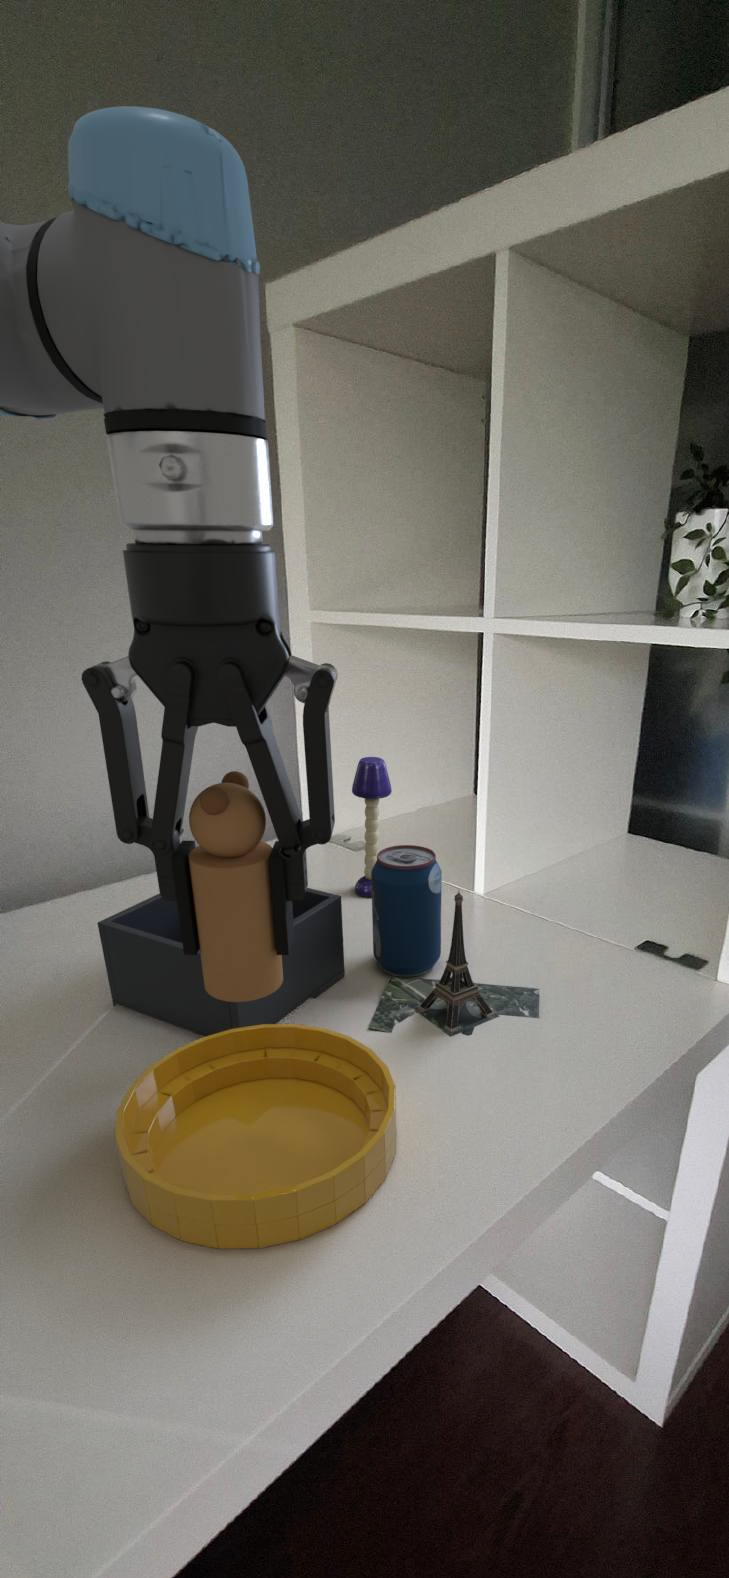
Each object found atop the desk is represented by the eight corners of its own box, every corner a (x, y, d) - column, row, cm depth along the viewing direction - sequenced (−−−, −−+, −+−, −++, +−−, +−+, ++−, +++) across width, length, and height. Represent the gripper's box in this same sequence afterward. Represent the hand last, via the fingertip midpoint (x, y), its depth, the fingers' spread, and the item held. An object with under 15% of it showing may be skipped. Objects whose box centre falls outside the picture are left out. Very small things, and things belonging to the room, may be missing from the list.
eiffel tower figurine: (541, 993, 78) (551, 864, 72) (537, 1053, 69) (548, 911, 63) (390, 980, 80) (388, 854, 74) (367, 1036, 71) (362, 898, 65)
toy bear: (191, 998, 50) (163, 788, 44) (222, 960, 55) (200, 765, 49) (268, 1006, 49) (250, 794, 44) (293, 967, 54) (279, 769, 48)
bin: (113, 1006, 75) (96, 922, 71) (226, 940, 87) (217, 865, 84) (241, 1054, 68) (231, 963, 65) (345, 975, 81) (341, 895, 77)
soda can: (454, 961, 83) (456, 853, 78) (411, 987, 79) (410, 874, 73) (403, 942, 87) (402, 837, 82) (359, 965, 82) (355, 856, 77)
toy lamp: (395, 885, 101) (394, 754, 94) (389, 900, 97) (386, 765, 90) (358, 883, 102) (354, 753, 95) (350, 897, 98) (345, 763, 91)
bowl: (65, 1185, 55) (51, 1133, 53) (249, 1045, 70) (244, 1001, 68) (288, 1303, 46) (282, 1246, 44) (442, 1115, 61) (443, 1067, 59)
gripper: (-17, 536, 37) (75, 974, 47) (374, 541, 37) (380, 974, 48) (49, 535, 44) (116, 918, 54) (379, 539, 44) (384, 919, 54)
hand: (240, 944), depth 51 cm, fingers closed on toy bear, 5 cm apart
